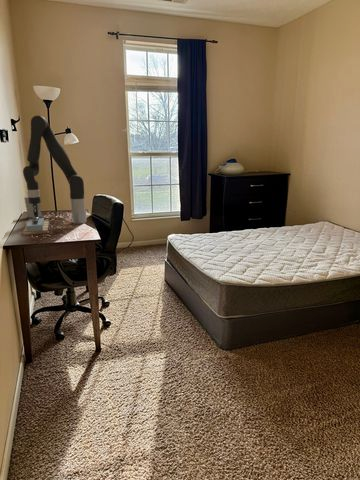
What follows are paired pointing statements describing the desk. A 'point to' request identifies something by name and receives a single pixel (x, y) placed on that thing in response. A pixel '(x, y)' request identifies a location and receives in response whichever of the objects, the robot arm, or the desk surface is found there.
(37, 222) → the bosses
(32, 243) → the desk surface
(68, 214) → the desk surface
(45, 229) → the board
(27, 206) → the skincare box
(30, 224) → the panel
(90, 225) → the desk surface
